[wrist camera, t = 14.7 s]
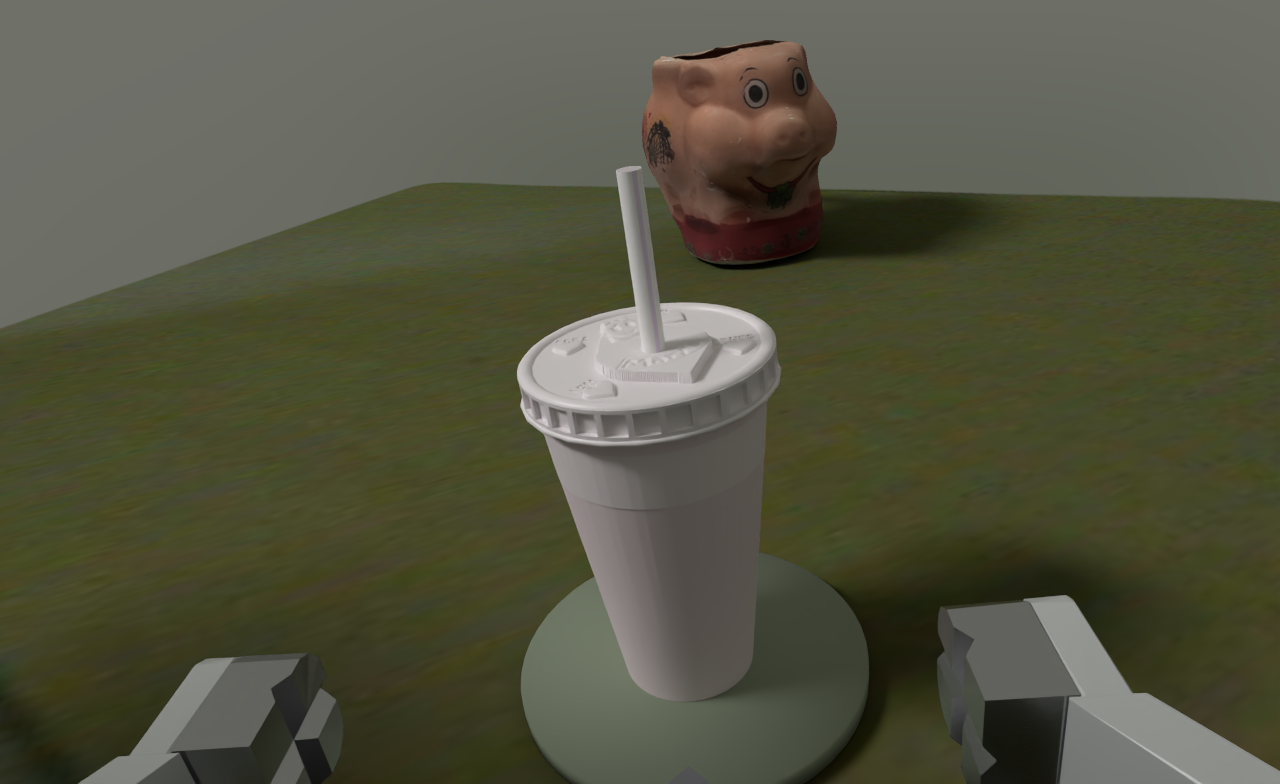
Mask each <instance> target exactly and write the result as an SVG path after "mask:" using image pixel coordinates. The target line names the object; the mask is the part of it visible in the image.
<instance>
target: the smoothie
mask: <svg viewBox="0 0 1280 784" xmlns="http://www.w3.org/2000/svg"><path fill="white" fill-rule="evenodd" d="M616 175H617V181H618V189H619V195H620V202H621V209H622V216H623V223H624V229H625V236H626V243H627V250H628V257H629V263H630V270H631V277H632V284H633V291H634V297H635V304H636V307H630V308H625V309H619V310H615V311H611V312H607V313H603V314H599V315H596V316H593V317H589V318H586V319H583V320H580V321H577V322H575V323H573V324H570V325H568V326H566V327H563V328H561V329H559V330H557V331H556V332H554V333H552V334H550V335H548V336H546V337H545V338H543V339H542V340H541V341H539V342H538V343H537V344H535V345H534V346H533V347H532V348H531V349H530V350H529V351H528V352H527V353H526V355H525V356H524V357H523V358H522V360H521V362H520V363H519V366H518V369H517V378H518V383H519V385H520V390H521V394H522V401H521V409H522V411H523V413H524V415H525V418H526V420H527V422H529V423H530V424H531V425H533V426H534V427H535V428H536V429H538V430H539V431H540V432H542V433H543V434H544V436H545V439H546V442H547V445H548V448H549V451H550V454H551V456H552V459H553V462H554V465H555V468H556V471H557V474H558V477H559V479H560V481H561V484H562V487H563V490H564V492H565V495H566V498H567V501H568V504H569V506H570V509H571V512H572V515H573V518H574V520H575V523H576V526H577V529H578V532H579V534H580V537H581V540H582V543H583V546H584V548H585V551H586V554H587V557H588V560H589V562H590V565H591V568H592V571H593V573H594V576H595V579H596V582H597V585H598V587H599V590H600V593H601V596H602V599H603V601H604V604H605V607H606V610H607V613H608V615H609V618H610V621H611V624H612V627H613V629H614V632H615V635H616V638H617V641H618V643H619V646H620V649H621V652H622V655H623V657H624V660H625V663H626V666H627V669H628V671H629V674H630V676H631V678H632V679H633V680H634V682H635V683H636V684H637V685H638V686H639V687H640V688H641V689H643V690H644V691H646V692H647V693H649V694H651V695H653V696H655V697H658V698H661V699H665V700H669V701H677V702H691V701H699V700H704V699H708V698H711V697H714V696H717V695H719V694H721V693H723V692H725V691H727V690H729V689H730V688H732V687H733V686H734V685H736V684H737V683H738V682H739V681H740V680H741V679H742V678H743V677H744V676H745V674H746V673H747V671H748V669H749V667H750V665H751V663H752V659H753V648H754V630H755V612H756V593H757V575H758V557H759V539H760V520H761V502H762V484H763V466H764V450H765V436H766V407H767V400H768V399H769V397H770V396H771V395H772V394H773V392H774V391H775V390H776V388H777V387H778V386H779V380H780V374H781V367H780V365H779V363H778V360H777V345H776V336H775V334H774V332H773V330H772V329H771V327H770V326H769V325H768V324H767V323H766V322H764V321H763V320H761V319H759V318H758V317H756V316H755V315H753V314H750V313H747V312H745V311H742V310H740V309H735V308H731V307H727V306H722V305H714V304H705V303H661V304H660V302H659V294H658V287H657V279H656V272H655V264H654V257H653V249H652V242H651V235H650V227H649V220H648V212H647V205H646V197H645V190H644V182H643V176H642V169H641V167H640V166H631V167H624V168H620V169H618V170H616Z"/></svg>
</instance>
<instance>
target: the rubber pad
mask: <svg viewBox="0 0 1280 784" xmlns="http://www.w3.org/2000/svg"><path fill="white" fill-rule="evenodd" d="M868 691H869V657H868V649H867V642H866V639H865V636H864V633H863V630H862V627H861V625H860V623H859V621H858V620H857V618H856V616H855V614H854V612H853V611H852V609H851V608H850V607H849V605H848V604H847V603H846V602H845V600H844V599H843V598H842V597H841V596H840V595H839V594H838V593H837V592H836V591H835V590H834V589H833V588H832V587H831V586H829V585H828V584H827V583H826V582H824V581H823V580H822V579H820V578H819V577H818V576H816V575H814V574H812V573H811V572H809V571H807V570H806V569H804V568H802V567H800V566H798V565H795V564H793V563H791V562H789V561H786V560H784V559H781V558H778V557H775V556H772V555H768V554H764V553H760V552H759V557H758V575H757V593H756V612H755V630H754V648H753V659H752V663H751V665H750V667H749V669H748V671H747V673H746V674H745V676H744V677H743V678H742V679H741V680H740V681H739V682H738V683H737V684H736V685H734V686H733V687H732V688H730V689H729V690H727V691H725V692H723V693H721V694H719V695H717V696H714V697H711V698H708V699H704V700H699V701H691V702H677V701H669V700H665V699H661V698H658V697H655V696H653V695H651V694H649V693H647V692H646V691H644V690H643V689H641V688H640V687H639V686H638V685H637V684H636V683H635V682H634V680H633V679H632V678H631V676H630V674H629V671H628V669H627V666H626V663H625V660H624V657H623V655H622V652H621V649H620V646H619V643H618V641H617V638H616V635H615V632H614V629H613V627H612V624H611V621H610V618H609V615H608V613H607V610H606V607H605V604H604V601H603V599H602V596H601V593H600V590H599V587H598V585H597V582H596V579H595V577H593V578H591V579H590V580H588V581H586V582H585V583H583V584H582V585H581V586H579V587H578V588H576V589H575V590H573V591H572V592H571V593H570V594H569V595H568V596H566V597H565V598H564V599H563V600H562V601H561V602H559V604H558V605H557V606H556V607H555V608H554V609H553V610H552V611H551V612H550V613H549V614H548V615H547V617H546V618H545V620H544V621H543V622H542V624H541V625H540V626H539V628H538V629H537V631H536V633H535V635H534V637H533V639H532V640H531V642H530V645H529V647H528V650H527V653H526V656H525V658H524V663H523V668H522V673H521V695H522V701H523V707H524V711H525V715H526V719H527V723H528V726H529V729H530V731H531V734H532V737H533V739H534V742H535V743H536V745H537V747H538V748H539V750H540V752H541V754H542V755H543V757H544V758H545V759H546V760H547V762H548V763H549V764H550V765H551V766H552V768H553V769H554V770H555V771H556V772H557V773H558V774H559V775H560V776H562V777H563V778H564V779H565V780H566V781H567V782H569V783H570V784H668V783H669V782H670V781H672V780H673V779H674V778H675V777H676V776H677V775H679V774H680V773H681V772H682V771H683V770H685V769H686V768H687V767H688V766H690V767H691V768H692V769H693V770H695V771H696V772H697V773H698V774H699V775H701V776H702V777H703V778H704V779H705V780H707V781H708V782H709V783H710V784H805V783H806V782H808V781H809V780H811V779H812V778H814V777H815V776H816V775H817V774H818V773H820V772H821V771H822V770H823V769H824V768H826V767H827V766H828V765H829V764H830V763H831V762H832V761H833V760H834V759H835V758H836V757H837V755H838V754H839V753H840V752H841V751H842V750H843V749H844V748H845V746H846V745H847V743H848V742H849V740H850V739H851V737H852V735H853V734H854V732H855V731H856V729H857V727H858V725H859V722H860V720H861V718H862V715H863V713H864V710H865V706H866V701H867V697H868Z"/></svg>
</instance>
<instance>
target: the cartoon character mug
mask: <svg viewBox="0 0 1280 784" xmlns="http://www.w3.org/2000/svg"><path fill="white" fill-rule="evenodd" d="M652 79H653V91H652V94H651V97H650V99H649V101H648V103H647V106H646V108H645V112H644V116H643V123H642V142H643V147H644V152H645V156H646V159H647V163H648V165H649V168H650V170H651V172H652V174H653V175H654V177H655V178H656V180H657V182H658V184H659V186H660V189H661V191H662V194H663V196H664V199H665V201H666V203H667V205H668V207H669V209H670V211H671V213H672V216H673V218H674V220H675V221H676V223H677V225H678V226H679V228H680V230H681V233H682V236H683V238H684V242H685V246H686V248H687V250H688V251H689V253H690V254H691V255H693V256H694V257H697V258H699V259H702V260H704V261H707V262H710V263H715V264H736V265H739V264H754V263H761V262H766V261H771V260H775V259H780V258H785V257H789V256H793V255H796V254H799V253H802V252H804V251H807V250H809V249H811V248H812V247H813V246H814V245H815V244H816V243H817V241H818V239H819V236H820V232H821V228H822V223H823V209H822V199H821V193H820V187H819V182H818V165H819V162H820V160H821V158H822V157H824V156H825V155H826V154H828V153H829V152H830V151H831V150H832V148H833V146H834V144H835V138H836V131H837V121H836V118H835V114H834V112H833V110H832V108H831V107H830V105H829V104H828V102H827V101H826V100H825V98H824V97H823V95H822V94H821V93H820V91H819V90H818V89H817V87H816V85H815V84H814V82H813V80H812V77H811V75H810V73H809V69H808V65H807V58H806V53H805V50H804V48H803V46H802V45H800V44H798V43H793V42H788V41H774V40H763V41H755V42H749V43H744V44H738V45H733V46H727V47H722V48H715V49H712V50H708V51H704V52H699V53H691V54H683V55H678V56H674V57H664V56H662V57H661V58H660V59H659V60H657V61H655V63H654V65H653V70H652Z"/></svg>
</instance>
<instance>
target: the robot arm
mask: <svg viewBox="0 0 1280 784" xmlns="http://www.w3.org/2000/svg"><path fill="white" fill-rule="evenodd" d="M938 634H939V636H940V639H941V642H942V644H943V647H944V650H945V651H944V652H943V653H942V654H941V655H940V657H939V658H938V659H937V680H938V688H939V696H940V703H941V707H942V711H943V715H944V719H945V722H946V725H947V728H948V731H949V734H950V737H951V738H952V739H954V740H955V741H956V742H958V743H959V744H960V745H961V746H962V766H961V768H962V771H963V774H964V776H965V779H966V782H967V784H1280V771H1278V770H1277V769H1275V768H1273V767H1272V766H1270V765H1268V764H1267V763H1265V762H1263V761H1261V760H1260V759H1258V758H1256V757H1255V756H1253V755H1251V754H1250V753H1248V752H1246V751H1245V750H1243V749H1241V748H1239V747H1238V746H1236V745H1234V744H1233V743H1231V742H1229V741H1228V740H1226V739H1224V738H1223V737H1221V736H1219V735H1217V734H1216V733H1214V732H1212V731H1211V730H1209V729H1207V728H1206V727H1204V726H1202V725H1201V724H1199V723H1197V722H1195V721H1194V720H1192V719H1190V718H1189V717H1187V716H1185V715H1184V714H1182V713H1180V712H1179V711H1177V710H1175V709H1173V708H1172V707H1170V706H1168V705H1167V704H1165V703H1163V702H1162V701H1160V700H1158V699H1157V698H1155V697H1153V696H1151V695H1150V694H1148V693H1133V692H1132V690H1131V689H1130V687H1129V686H1128V684H1127V682H1126V681H1125V679H1124V678H1123V676H1122V675H1121V673H1120V671H1119V670H1118V668H1117V667H1116V665H1115V664H1114V662H1113V661H1112V659H1111V657H1110V656H1109V654H1108V653H1107V651H1106V650H1105V648H1104V647H1103V645H1102V643H1101V642H1100V640H1099V639H1098V637H1097V636H1096V634H1095V632H1094V631H1093V629H1092V628H1091V626H1090V625H1089V623H1088V622H1087V620H1086V618H1085V617H1084V615H1083V614H1082V612H1081V611H1080V609H1079V608H1078V606H1077V604H1076V603H1075V601H1074V600H1073V599H1071V598H1070V597H1068V596H1067V595H1061V596H1050V597H1040V598H1029V599H1024V600H1014V601H1002V602H989V603H977V604H965V605H952V606H941V607H940V611H939V615H938ZM325 677H326V672H325V670H324V668H323V666H322V664H321V661H320V659H319V657H318V656H316V655H313V654H310V653H300V654H280V655H259V656H241V657H234V658H212V659H205V660H204V661H202V662H200V663H198V664H196V665H195V666H194V667H193V669H192V670H191V671H190V673H189V674H188V676H187V677H186V678H185V680H184V681H183V682H182V684H181V685H180V687H179V688H178V689H177V691H176V692H175V694H174V695H173V696H172V698H171V699H170V700H169V702H168V703H167V705H166V706H165V707H164V709H163V710H162V711H161V713H160V714H159V716H158V717H157V718H156V720H155V721H154V722H153V724H152V725H151V727H150V728H149V729H148V731H147V732H146V733H145V735H144V736H143V738H142V739H141V740H140V742H139V743H138V744H137V746H136V747H135V749H134V750H133V751H132V753H131V754H130V756H120V757H117V758H115V759H114V760H112V761H111V762H109V763H108V764H106V765H105V766H103V767H102V768H101V769H99V770H98V771H96V772H95V773H93V774H92V775H90V776H89V777H87V778H86V779H84V780H83V781H81V782H80V783H78V784H320V783H322V782H323V781H324V780H325V779H326V778H327V777H328V776H330V775H331V774H332V773H333V771H334V768H335V766H336V763H337V761H338V759H339V756H340V754H341V747H342V740H343V733H344V729H343V721H342V713H341V711H340V708H339V705H338V703H337V700H336V699H335V698H333V697H332V696H331V695H329V694H328V693H327V692H325V691H324V690H323V689H321V686H322V684H323V681H324V679H325Z"/></svg>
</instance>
